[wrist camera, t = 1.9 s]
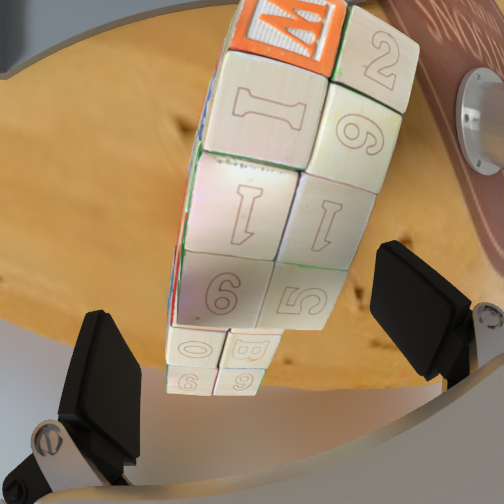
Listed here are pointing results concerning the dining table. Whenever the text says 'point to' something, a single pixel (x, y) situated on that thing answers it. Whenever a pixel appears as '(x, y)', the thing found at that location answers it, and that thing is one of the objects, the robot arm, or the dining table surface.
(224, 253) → the stack of blocks
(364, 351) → the dining table surface
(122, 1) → the board
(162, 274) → the dining table surface
